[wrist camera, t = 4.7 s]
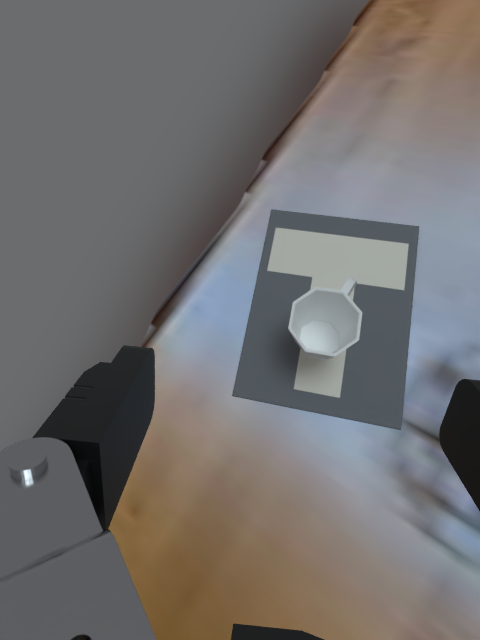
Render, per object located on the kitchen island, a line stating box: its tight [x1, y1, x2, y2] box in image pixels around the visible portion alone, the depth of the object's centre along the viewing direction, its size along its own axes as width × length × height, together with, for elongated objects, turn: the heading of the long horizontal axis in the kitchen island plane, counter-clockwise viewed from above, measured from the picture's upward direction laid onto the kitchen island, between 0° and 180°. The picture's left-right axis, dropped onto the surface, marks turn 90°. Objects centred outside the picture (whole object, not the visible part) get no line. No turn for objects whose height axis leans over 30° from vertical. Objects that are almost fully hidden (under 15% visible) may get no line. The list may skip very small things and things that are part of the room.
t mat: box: [233, 210, 419, 430], centre depth 44 cm, size 24×18×1 cm
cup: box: [288, 277, 362, 360], centre depth 40 cm, size 7×10×8 cm
